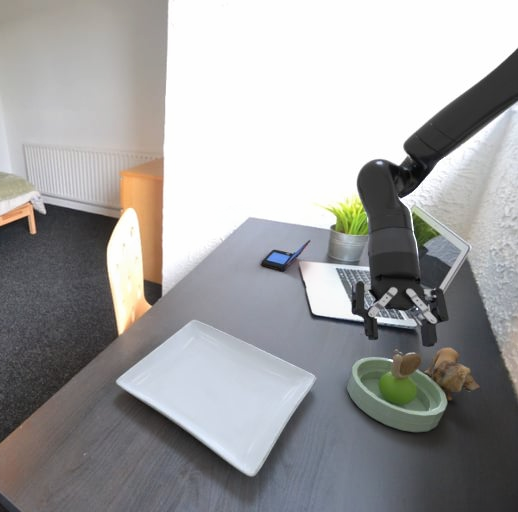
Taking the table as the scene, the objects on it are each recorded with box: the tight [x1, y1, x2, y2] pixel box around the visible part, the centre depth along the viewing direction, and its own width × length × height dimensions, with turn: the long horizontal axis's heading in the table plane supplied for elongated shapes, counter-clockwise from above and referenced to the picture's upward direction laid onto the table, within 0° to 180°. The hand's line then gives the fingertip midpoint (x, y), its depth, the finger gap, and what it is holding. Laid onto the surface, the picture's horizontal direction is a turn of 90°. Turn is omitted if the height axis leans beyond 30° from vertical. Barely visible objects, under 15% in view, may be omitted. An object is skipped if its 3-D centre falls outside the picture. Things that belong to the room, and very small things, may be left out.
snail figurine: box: [379, 349, 422, 404], centre depth 64 cm, size 5×6×12 cm
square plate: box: [115, 319, 317, 478], centre depth 69 cm, size 27×27×4 cm
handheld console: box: [260, 239, 311, 272], centre depth 115 cm, size 12×11×7 cm
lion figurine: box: [423, 347, 480, 401], centre depth 68 cm, size 15×5×9 cm, turn 150°
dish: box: [346, 356, 448, 433], centre depth 66 cm, size 14×14×4 cm
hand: (400, 343), depth 65 cm, fingers open, 8 cm apart
